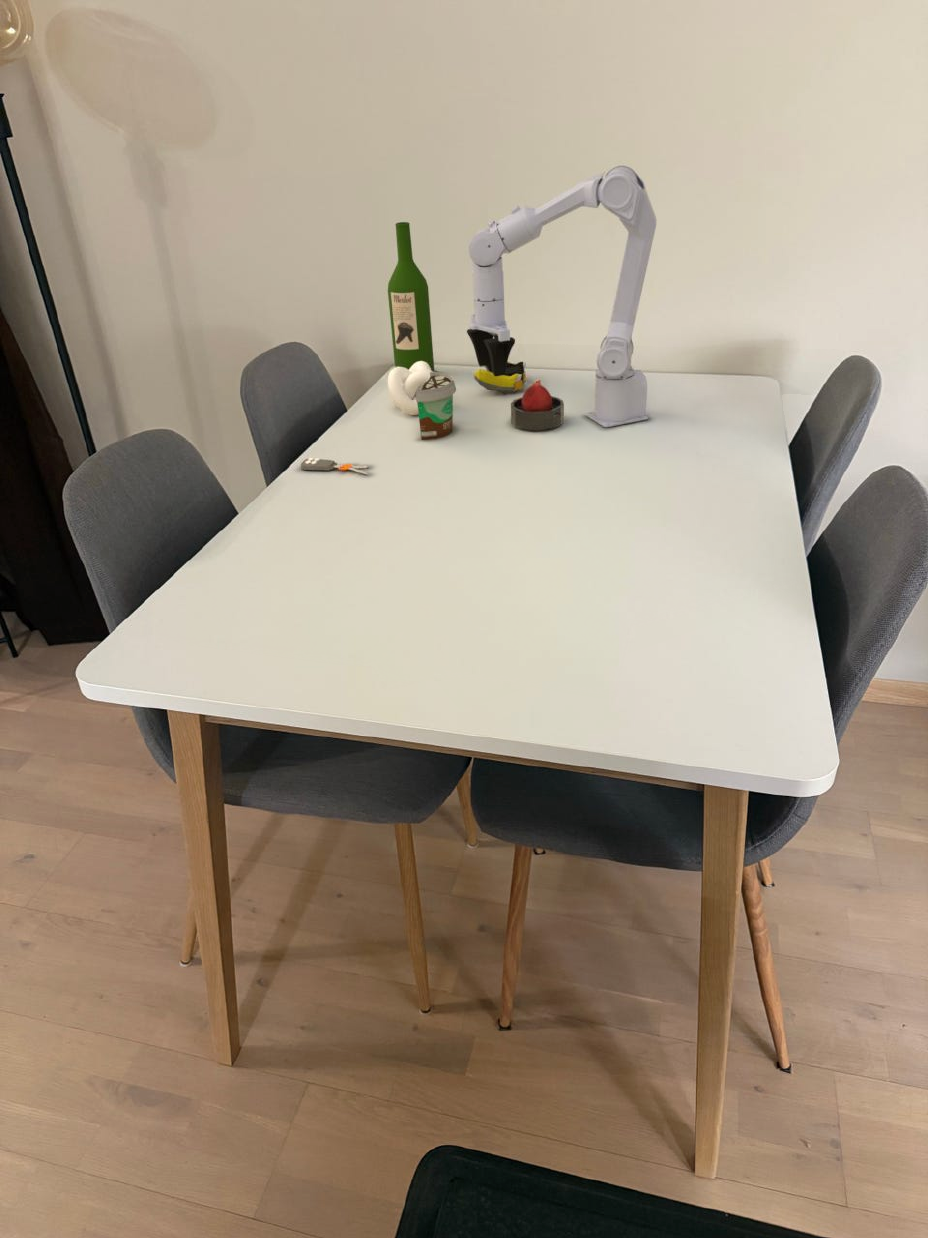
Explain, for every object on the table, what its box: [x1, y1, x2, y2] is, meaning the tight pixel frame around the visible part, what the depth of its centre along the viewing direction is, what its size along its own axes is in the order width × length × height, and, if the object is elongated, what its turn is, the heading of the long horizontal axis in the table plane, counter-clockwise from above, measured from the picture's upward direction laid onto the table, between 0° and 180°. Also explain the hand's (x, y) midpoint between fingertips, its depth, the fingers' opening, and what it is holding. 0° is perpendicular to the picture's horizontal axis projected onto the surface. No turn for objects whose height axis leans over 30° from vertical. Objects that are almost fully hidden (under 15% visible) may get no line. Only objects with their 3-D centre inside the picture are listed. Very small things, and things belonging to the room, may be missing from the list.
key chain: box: [300, 457, 369, 475], centre depth 162 cm, size 13×4×2 cm, turn 75°
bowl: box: [510, 395, 565, 432], centre depth 175 cm, size 10×10×4 cm
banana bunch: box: [473, 361, 527, 395], centre depth 196 cm, size 15×6×10 cm
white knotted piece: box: [387, 361, 433, 416], centre depth 186 cm, size 11×12×9 cm
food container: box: [416, 371, 457, 441], centre depth 173 cm, size 12×6×10 cm, turn 168°
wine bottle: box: [387, 221, 435, 372], centre depth 199 cm, size 9×9×32 cm
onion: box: [521, 379, 552, 412], centre depth 174 cm, size 6×6×8 cm
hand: (491, 370), depth 176 cm, fingers open, 7 cm apart
